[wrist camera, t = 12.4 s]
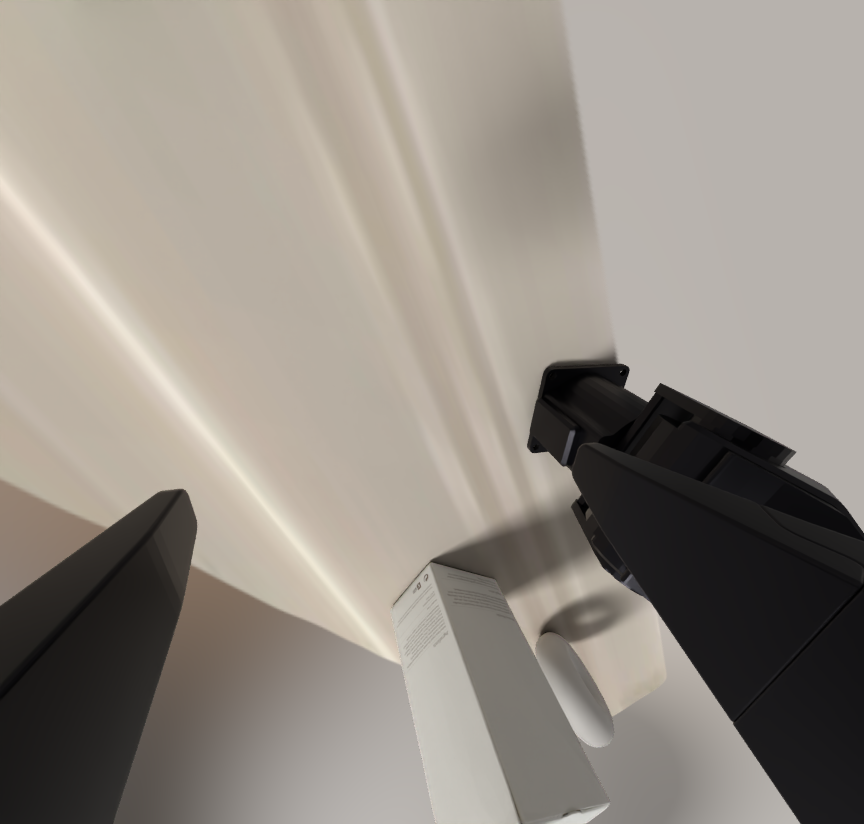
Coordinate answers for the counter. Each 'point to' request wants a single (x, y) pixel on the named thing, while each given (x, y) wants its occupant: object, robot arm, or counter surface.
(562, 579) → the counter surface
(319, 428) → the counter surface
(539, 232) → the counter surface
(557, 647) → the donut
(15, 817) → the robot arm
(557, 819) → the skincare box
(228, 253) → the counter surface
